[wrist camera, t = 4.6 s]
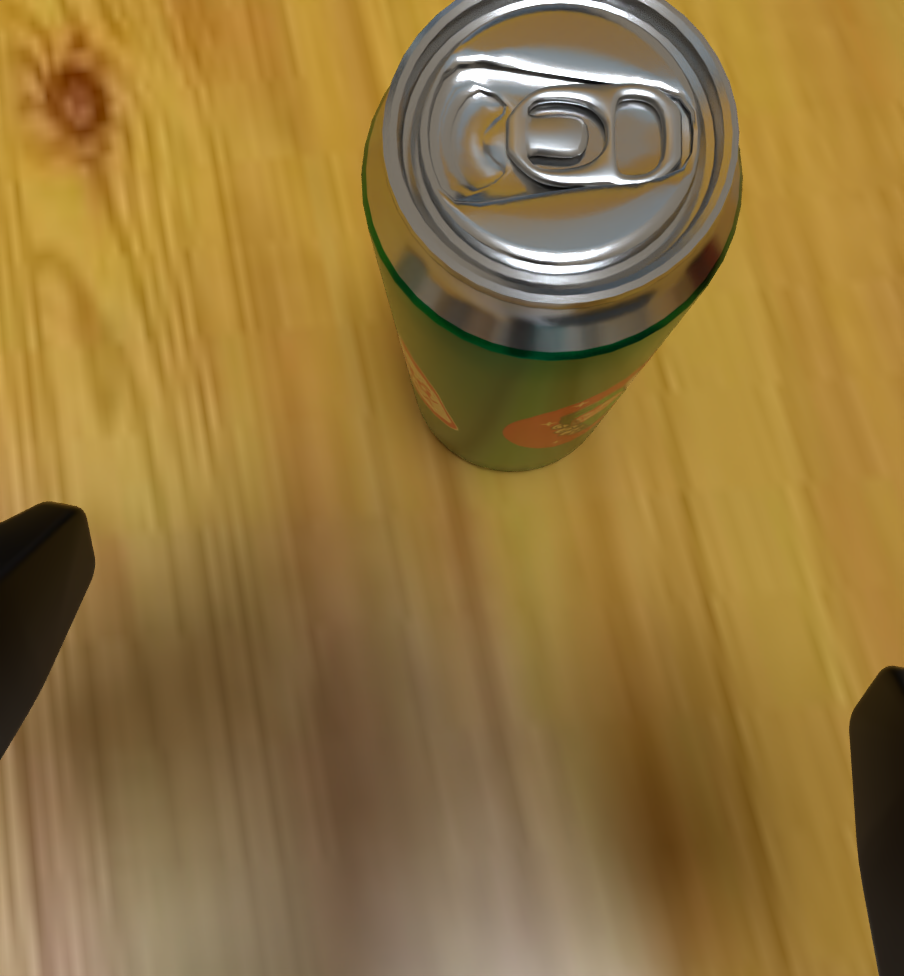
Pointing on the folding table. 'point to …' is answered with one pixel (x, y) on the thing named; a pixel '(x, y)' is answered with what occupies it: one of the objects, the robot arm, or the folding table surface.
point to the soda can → (546, 211)
